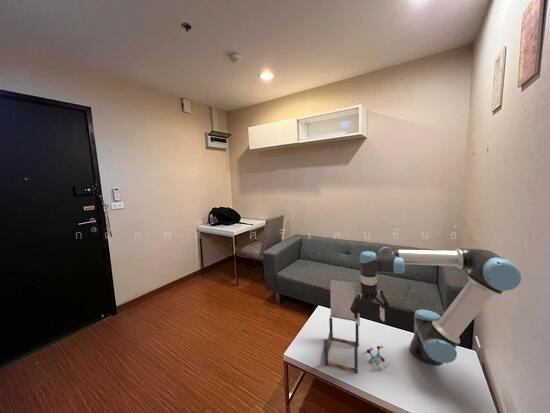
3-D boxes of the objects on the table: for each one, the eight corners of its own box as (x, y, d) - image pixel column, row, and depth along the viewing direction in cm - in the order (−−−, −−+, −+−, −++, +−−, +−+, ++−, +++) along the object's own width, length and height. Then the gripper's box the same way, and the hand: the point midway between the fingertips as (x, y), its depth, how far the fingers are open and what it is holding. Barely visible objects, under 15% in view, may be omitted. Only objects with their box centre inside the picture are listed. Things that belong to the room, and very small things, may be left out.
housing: (358, 344, 127) (358, 322, 126) (357, 373, 108) (357, 348, 107) (330, 338, 133) (329, 317, 132) (324, 365, 114) (324, 341, 113)
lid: (358, 322, 126) (358, 321, 127) (358, 283, 126) (358, 283, 127) (329, 317, 132) (329, 316, 133) (329, 280, 132) (329, 280, 133)
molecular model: (392, 369, 106) (380, 347, 109) (374, 375, 108) (362, 354, 111) (389, 358, 116) (378, 338, 120) (372, 364, 119) (362, 344, 122)
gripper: (386, 275, 117) (387, 313, 119) (342, 282, 113) (344, 321, 115) (396, 282, 109) (397, 322, 112) (349, 289, 106) (351, 331, 108)
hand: (370, 322), depth 113 cm, fingers open, 13 cm apart
